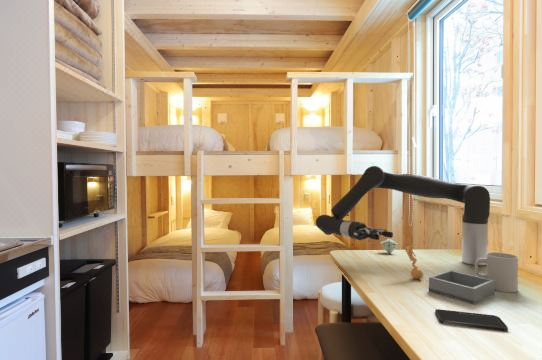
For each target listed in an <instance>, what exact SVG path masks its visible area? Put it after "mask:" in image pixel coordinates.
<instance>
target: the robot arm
mask: <svg viewBox="0 0 542 360" xmlns="http://www.w3.org/2000/svg"><path fill="white" fill-rule="evenodd" d="M373 188H376V189H387V190H394V191H397V192H400V193H405V194H409V195H411V196H416V197H417V196H418V197H423V198H428V199H429V198H430V199H443V200H445V199H446V200H450V201H455V202H459V203H461V204H464V209H463V210H464V211H463V214H462V224H461V227H462V231H461V232H462V235H461V240H462V242H461V251H462V252H461V261H462V263H464V264H468V265H473V266H475V262H476V260H477V259H479V258H487V253H489V252H488V250H489V249H488V246H489V245H488V244H489V243H488V241H489V240H488V239H489V237H488V235H489V233H488V232H489V230H488V229H489V227H488V225H489V223H488V221H489V218H490V213H491V212H490V210H491V209H490V208H491V195H490V192H489V190H488V189H487V188H486V187H484V186H482V185H479V184H461V183H453V182H448V181H446V180H445V181H444V180H442V179H439V178H435V177H432V176H428V175H427V176H426V175H422V174H421V175H420V174H397V173H390V172H386V171H384V170H383V169H382V168H381V167H380V166H377V165H371V166H369V167H367V168H366V169H365V170H364V172H363V173H362V175H361V176H360V178H359V180H357V182H356V183H355V184H354V186H353V187H351V189H350V190H349V191H348V192H347V193H345V195H344V196H342V198H340V199H339V200H338V201H337V202H336V204H335V205H333V206H332V207H331V209H330V212H331V214H332V216H331V215H329V214H321V215H319V216H317V218H316V219H315V225H316V227H317V228H318V229H319V231H321V232H322V233H324V234H325V235H327V236H331V235H333V234H335V235H338V236H341V237H345V238H348V239H353V240H356V241H363V240H366V239H367V240H370V239H372V240H376V241H379V240H380V237H383V238H384V237H385V238H388V239H391V238H393V237H394V233H393V232H392V231H387V229H385V228H379V227H378V228H376V227H369V226H367V225H366V223H364V222H361V221H355V220H345V219H344V218H346V217H347V216H348V214H349V213H350V212H351V211H352V210H353V209H354V208H355V207H356V206H357V204H358V203H359V202H360V200H361V199H362V198H363V197H364V196H365V195H366V194H367V193H369V192H370V191H371V190H372V189H373ZM478 266H487V264H486V263H483V262H481V263H479V264H478Z"/></svg>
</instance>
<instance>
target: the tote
mask: <svg viewBox="0 0 542 360" xmlns="http://www.w3.org/2000/svg"><path fill="white" fill-rule="evenodd" d="M428 292H430V293H434V294H437V295H441V296H445V297H448V298H451V299H454V300H458V301H462V302H463V303H467V304H472V305H476V304H478V303H481V302H482V301H484V300H486V299H488V298H490V297H493V296H494V295H495V290H494V280H491V279H486V278H482V277H478V276H477V275H473V274H468V273H464V272H459V271H455V270H450V269H448V270H445V271H443V272H440V273H437V274H435V275H432V276H429V277H428Z"/></svg>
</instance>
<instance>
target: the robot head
mask: <svg viewBox="0 0 542 360" xmlns="http://www.w3.org/2000/svg"><path fill="white" fill-rule="evenodd" d="M380 245H381V246H382V247H383V248H384V250H385V252H386V253H387V254H391V253H393V252H394V249H395V248H397V247H398V245H399V244H398V242H395V241H394V240H393V239H391V238H387V239H386V240H383V241H381V242H380Z"/></svg>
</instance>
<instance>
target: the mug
mask: <svg viewBox="0 0 542 360" xmlns="http://www.w3.org/2000/svg"><path fill="white" fill-rule="evenodd" d="M481 262H483V263H486V264H487V265H486V273H480V270H479V265H478V264H479V263H481ZM518 268H519V258H518V256H516V255H515V254H511V253H506V252H497V251H495V252H493V251H492V252H488V253H487V258H479V259H477V260H476V262H475V265H474V272H475V276H477V277H482V278H486V279H491V280H494V291H495V292H501V293H509V294H510V293H517V292H518V289H519V283H518V282H519V275H518V272H519V269H518Z"/></svg>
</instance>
